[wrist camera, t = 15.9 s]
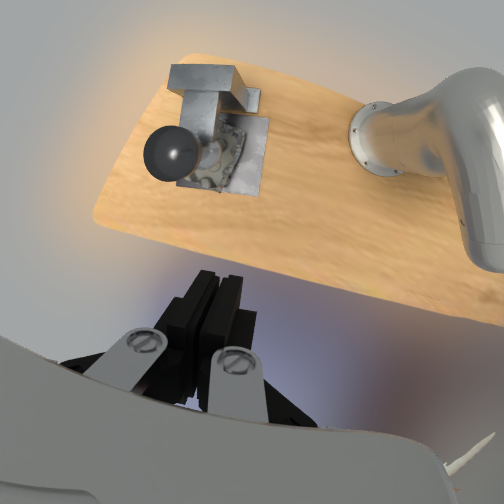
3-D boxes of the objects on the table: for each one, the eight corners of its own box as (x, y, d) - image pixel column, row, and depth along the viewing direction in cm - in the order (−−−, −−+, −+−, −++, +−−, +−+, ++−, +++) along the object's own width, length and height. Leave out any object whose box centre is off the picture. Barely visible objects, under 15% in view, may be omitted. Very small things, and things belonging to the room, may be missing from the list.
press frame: (273, 92, 41) (269, 60, 25) (258, 196, 47) (246, 221, 31) (189, 85, 42) (144, 58, 25) (176, 185, 48) (128, 204, 31)
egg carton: (225, 193, 47) (220, 197, 43) (184, 176, 47) (176, 178, 43) (251, 133, 43) (248, 132, 40) (209, 117, 43) (202, 114, 39)
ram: (227, 135, 35) (199, 127, 22) (222, 173, 36) (192, 184, 24) (189, 132, 35) (146, 124, 23) (185, 169, 37) (141, 179, 24)
